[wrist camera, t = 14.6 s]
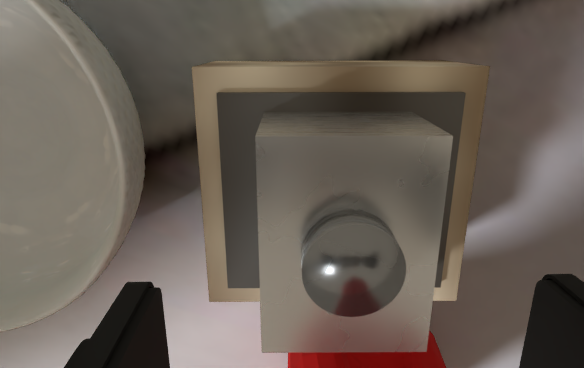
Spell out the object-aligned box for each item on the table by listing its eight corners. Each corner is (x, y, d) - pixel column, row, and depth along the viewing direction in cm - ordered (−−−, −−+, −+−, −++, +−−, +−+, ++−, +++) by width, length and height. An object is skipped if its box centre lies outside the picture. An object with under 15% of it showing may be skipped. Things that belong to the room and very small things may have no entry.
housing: (264, 112, 17) (251, 145, 12) (411, 111, 17) (468, 145, 12) (268, 283, 20) (259, 377, 14) (396, 283, 20) (437, 376, 14)
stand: (226, 248, 26) (207, 306, 20) (215, 60, 22) (189, 67, 17) (421, 247, 26) (459, 305, 20) (442, 60, 22) (494, 66, 17)
